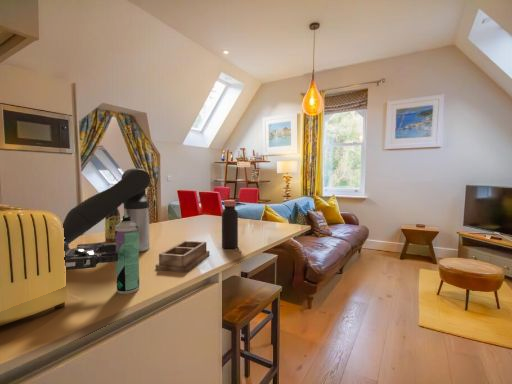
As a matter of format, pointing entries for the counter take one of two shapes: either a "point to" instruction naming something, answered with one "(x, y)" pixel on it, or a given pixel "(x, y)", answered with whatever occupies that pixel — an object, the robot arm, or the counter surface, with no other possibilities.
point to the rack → (182, 256)
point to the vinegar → (229, 225)
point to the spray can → (127, 256)
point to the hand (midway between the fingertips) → (119, 251)
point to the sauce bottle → (111, 225)
